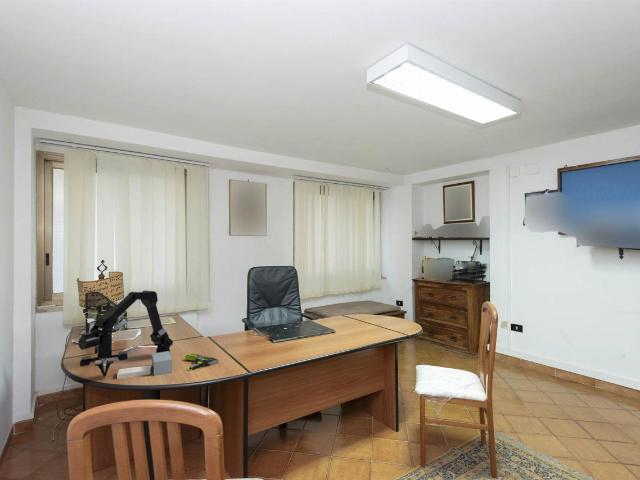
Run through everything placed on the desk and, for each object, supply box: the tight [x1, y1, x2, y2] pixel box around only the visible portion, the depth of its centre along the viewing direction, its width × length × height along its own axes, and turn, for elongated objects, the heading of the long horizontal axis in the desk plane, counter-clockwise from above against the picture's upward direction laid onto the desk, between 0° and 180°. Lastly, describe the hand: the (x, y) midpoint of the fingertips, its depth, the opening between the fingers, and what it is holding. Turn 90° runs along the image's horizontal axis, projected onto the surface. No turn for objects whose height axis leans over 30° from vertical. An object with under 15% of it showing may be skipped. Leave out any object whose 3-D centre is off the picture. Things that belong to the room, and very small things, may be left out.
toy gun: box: [184, 353, 219, 372], centre depth 175 cm, size 20×4×15 cm
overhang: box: [151, 351, 173, 376], centre depth 169 cm, size 8×14×6 cm, turn 30°
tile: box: [116, 364, 152, 380], centre depth 163 cm, size 14×7×2 cm, turn 113°
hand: (104, 376), depth 157 cm, fingers closed
